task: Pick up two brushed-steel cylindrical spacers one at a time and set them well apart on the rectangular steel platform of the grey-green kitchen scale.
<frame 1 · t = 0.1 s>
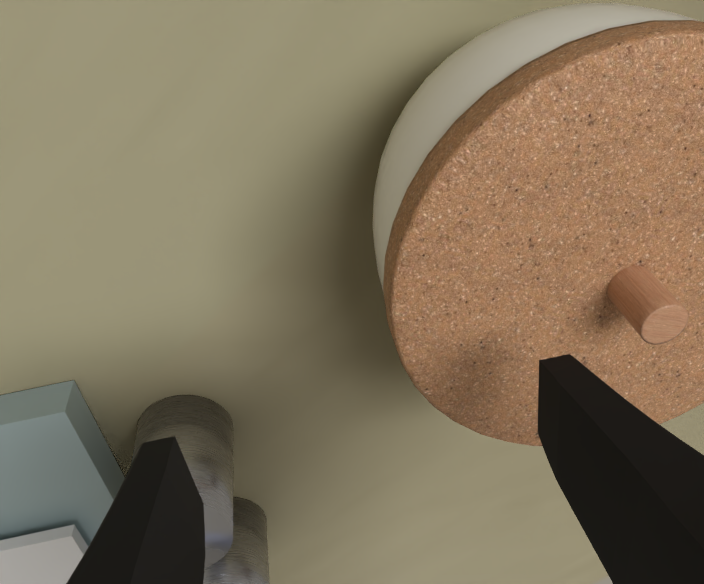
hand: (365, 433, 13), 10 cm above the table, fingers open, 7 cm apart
lidded jar: (507, 146, 22), on the table
scale: (24, 575, 29), on the table
spacer 2: (225, 524, 30), on the table
spacer 1: (185, 429, 26), on the table
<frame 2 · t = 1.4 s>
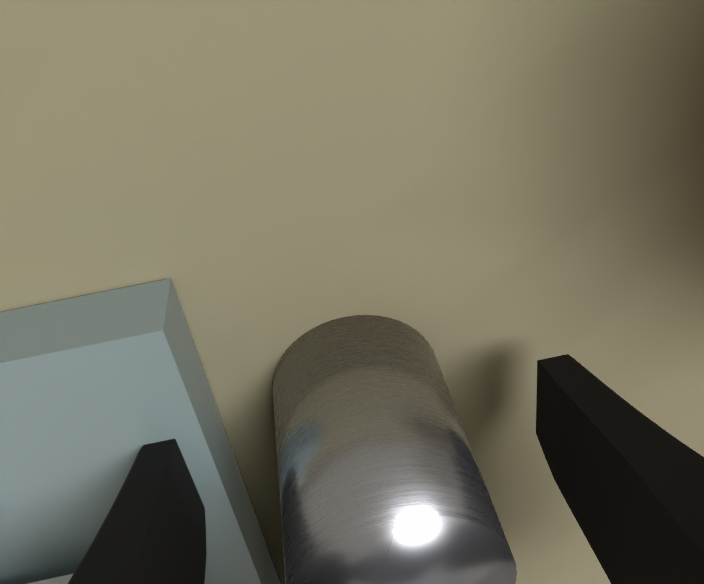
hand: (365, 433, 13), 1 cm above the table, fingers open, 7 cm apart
spacer 1: (356, 383, 15), on the table
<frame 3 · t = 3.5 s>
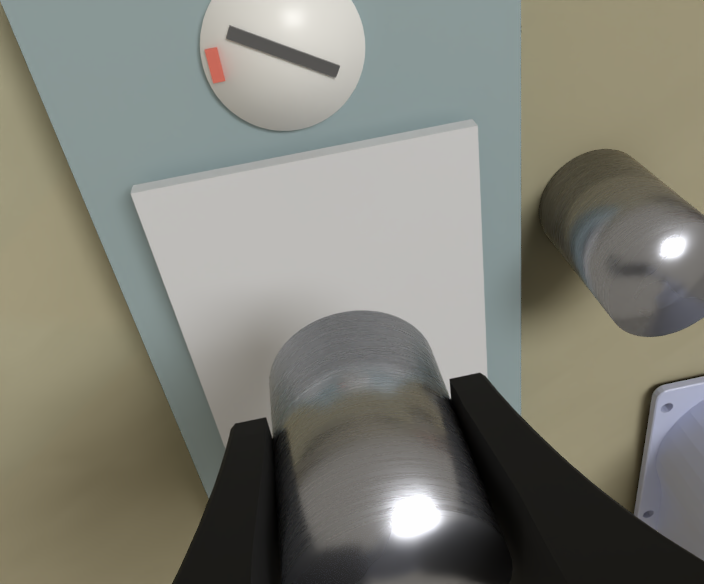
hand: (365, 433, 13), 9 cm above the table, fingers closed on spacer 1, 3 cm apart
scale: (326, 268, 22), on the table
spacer 2: (591, 200, 22), on the table
spacer 1: (353, 378, 15), point 8 cm above the table, touching gripper
when the fingers open (5 cm above the table, at t = 4.7 s): spacer 1 stays where it is, resting on scale.
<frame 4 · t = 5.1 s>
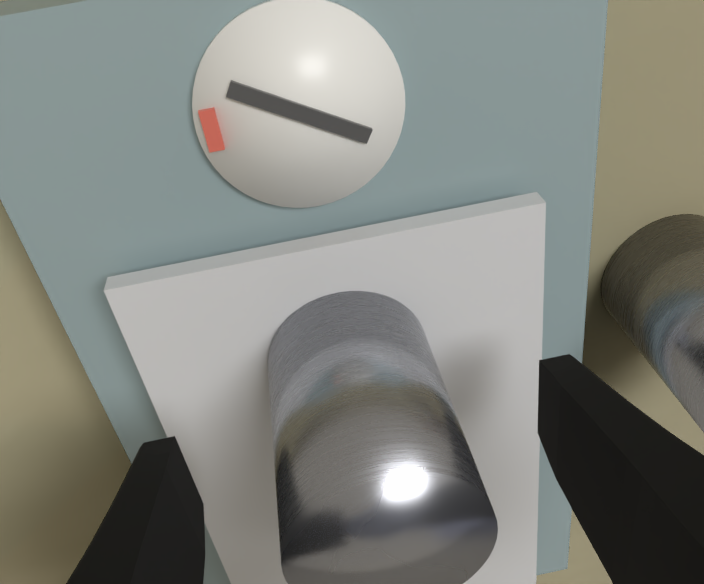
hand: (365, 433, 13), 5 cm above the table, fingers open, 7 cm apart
scale: (346, 353, 18), on the table
spacer 2: (664, 272, 19), on the table
spacer 1: (348, 357, 15), point 3 cm above the table, touching scale
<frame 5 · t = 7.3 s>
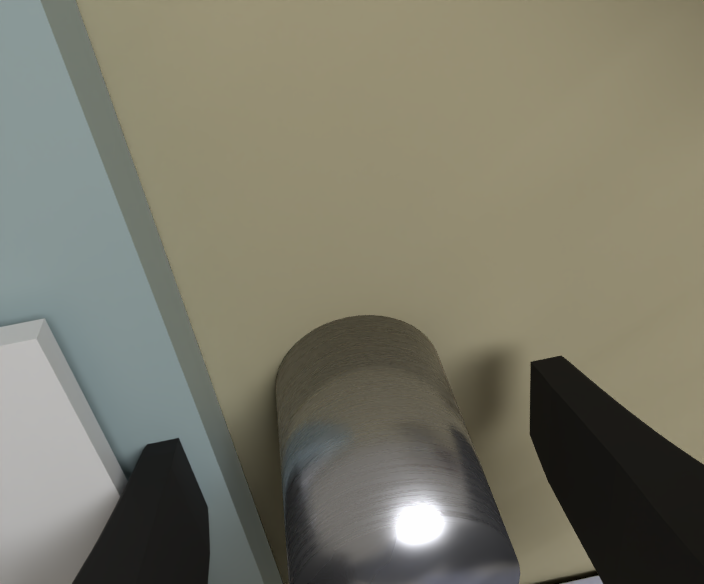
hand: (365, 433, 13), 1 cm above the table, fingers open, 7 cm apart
spacer 2: (359, 383, 15), on the table
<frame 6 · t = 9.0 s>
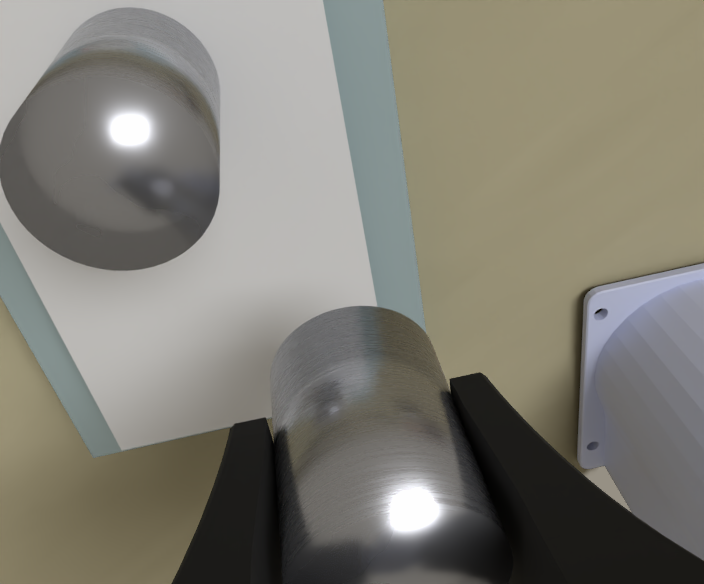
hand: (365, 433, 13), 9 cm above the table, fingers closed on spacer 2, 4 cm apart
scale: (177, 132, 19), on the table
spacer 2: (353, 374, 15), point 8 cm above the table, touching gripper
spacer 1: (141, 89, 16), point 3 cm above the table, touching scale
when the fingers open (5 cm above the table, at t = 10.4 s): spacer 2 stays where it is, resting on scale.
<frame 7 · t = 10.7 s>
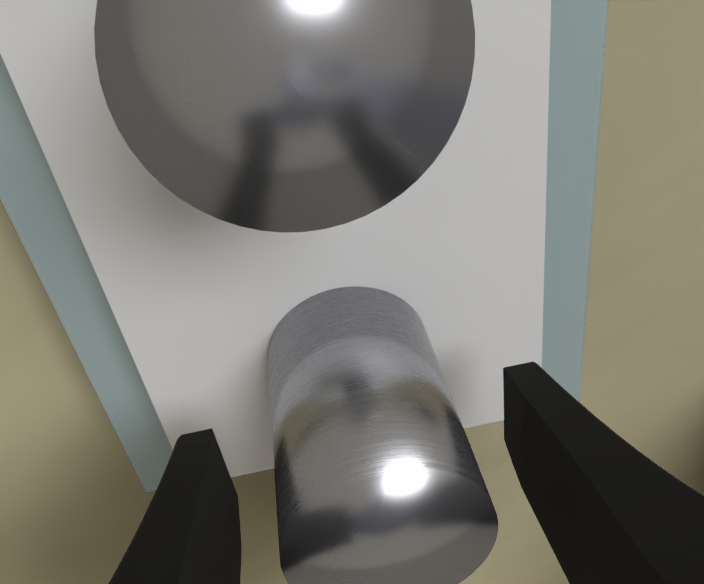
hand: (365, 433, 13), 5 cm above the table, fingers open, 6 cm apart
scale: (289, 59, 14), on the table
spacer 2: (348, 353, 15), point 3 cm above the table, touching scale
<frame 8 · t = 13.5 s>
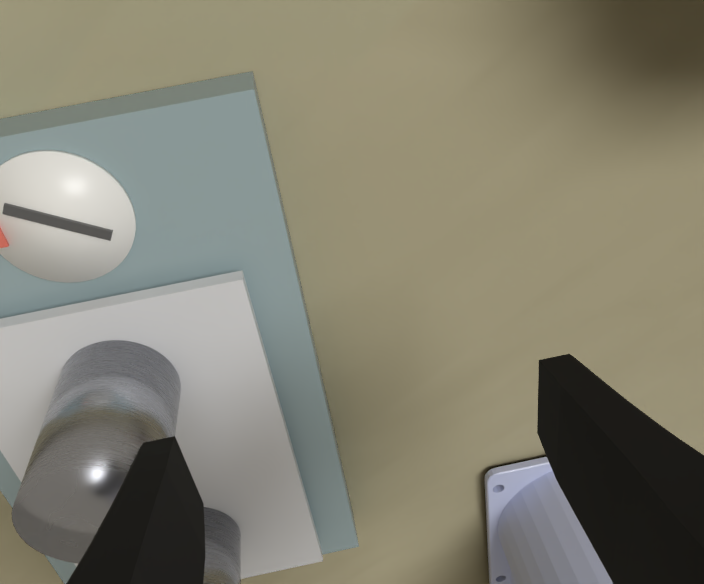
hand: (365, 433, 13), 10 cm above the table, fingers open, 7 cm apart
scale: (151, 378, 24), on the table
spacer 2: (192, 538, 25), point 3 cm above the table, touching scale
spacer 1: (121, 386, 21), point 3 cm above the table, touching scale
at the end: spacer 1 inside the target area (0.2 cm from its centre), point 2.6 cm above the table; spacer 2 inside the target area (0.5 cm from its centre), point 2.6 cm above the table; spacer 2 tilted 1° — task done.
